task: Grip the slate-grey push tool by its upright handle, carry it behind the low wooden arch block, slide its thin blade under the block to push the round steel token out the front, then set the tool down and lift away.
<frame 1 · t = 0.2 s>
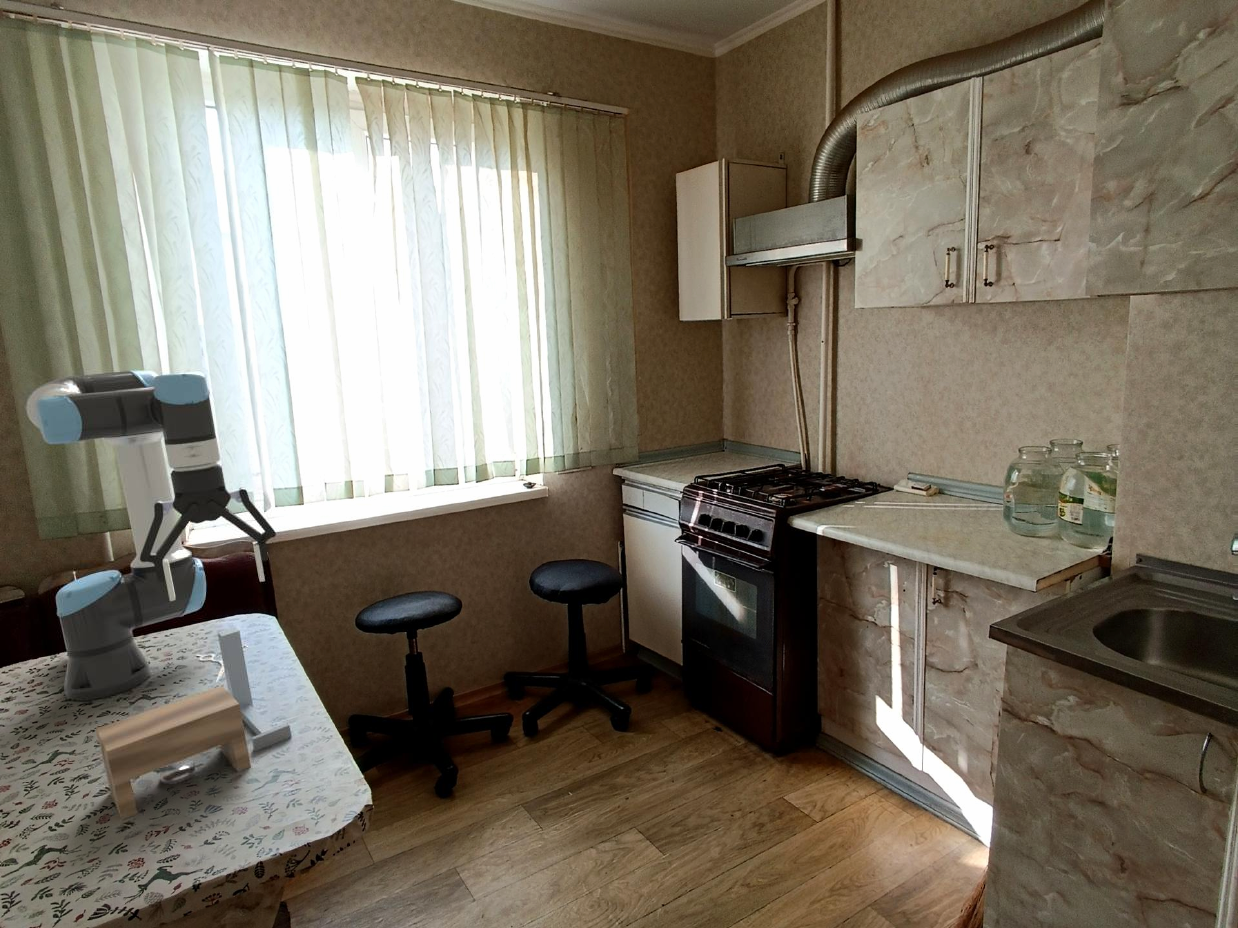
hand: (218, 588, 129), 27 cm above the table, tool pointing down, fingers open, 13 cm apart
steel token: (179, 776, 123), on the table
wooden arch block: (181, 779, 121), on the table
scissors: (225, 666, 166), on the table
stereo radio cassette player: (107, 659, 175), on the table
push tool: (243, 711, 143), on the table
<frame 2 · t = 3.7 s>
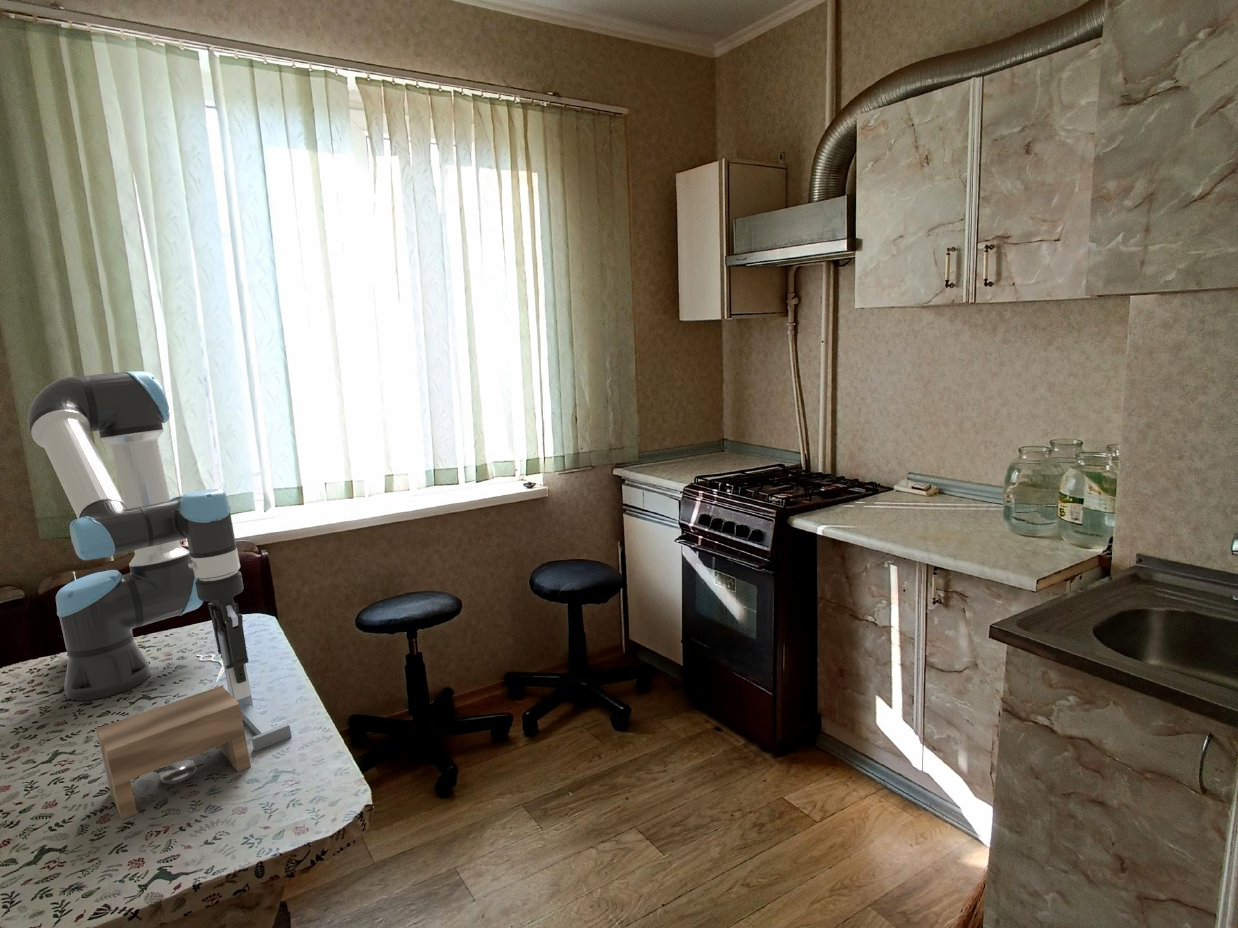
hand: (239, 693, 142), 4 cm above the table, tool pointing down, fingers closed on push tool, 3 cm apart
push tool: (243, 711, 143), on the table, touching gripper
everything else where it was.
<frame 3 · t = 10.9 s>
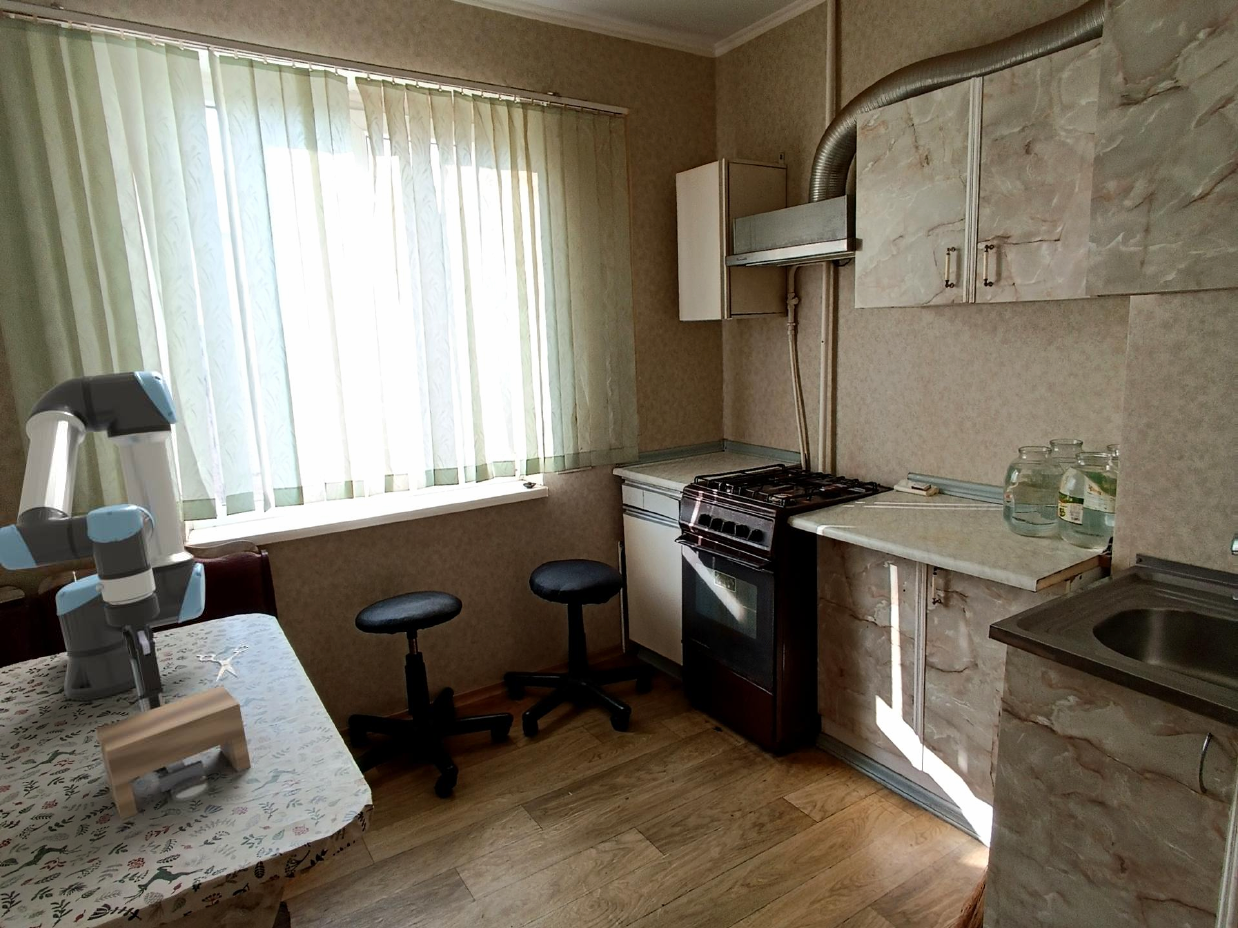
hand: (156, 725, 131), 4 cm above the table, tool pointing down, fingers closed on push tool, 3 cm apart
steel token: (191, 792, 117), on the table, touching push tool
push tool: (160, 744, 132), on the table, touching gripper, steel token
everything else where it was.
when the fingers open (5 cm above the table, at t = 14.2 s): push tool drops 1 cm, on the table.
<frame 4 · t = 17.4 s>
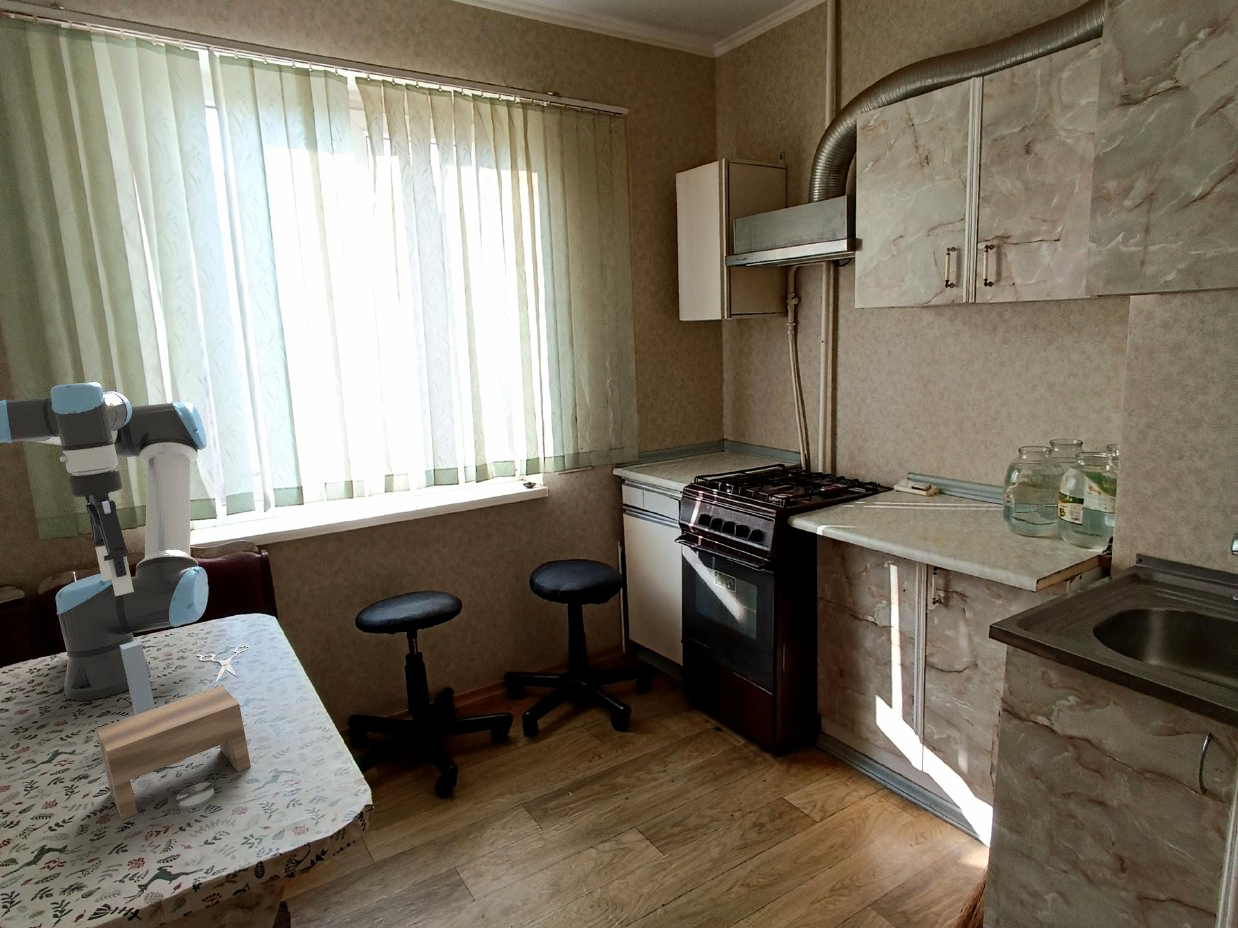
hand: (117, 586, 137), 27 cm above the table, tool pointing down, fingers open, 13 cm apart
steel token: (196, 800, 115), on the table
push tool: (147, 725, 140), on the table
everything else where it was.
at the end: steel token inside the target area (10.3 cm from its centre), on the table; steel token moved 10.0 cm from its start; the gripper is holding nothing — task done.
